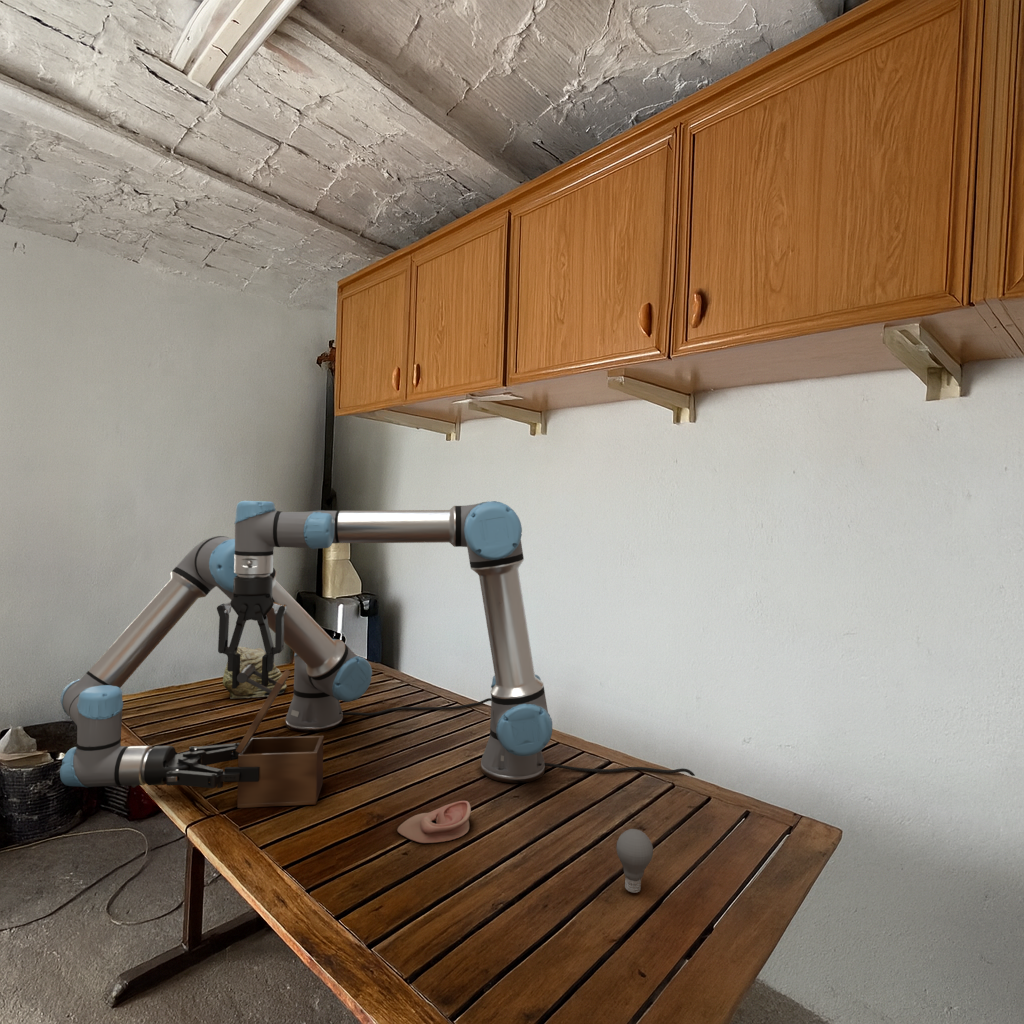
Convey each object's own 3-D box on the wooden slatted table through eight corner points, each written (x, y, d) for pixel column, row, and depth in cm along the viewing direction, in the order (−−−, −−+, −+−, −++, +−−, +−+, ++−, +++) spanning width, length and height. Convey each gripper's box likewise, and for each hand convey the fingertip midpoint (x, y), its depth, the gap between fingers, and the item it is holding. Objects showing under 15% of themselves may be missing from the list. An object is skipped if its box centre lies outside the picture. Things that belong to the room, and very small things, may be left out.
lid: (291, 671, 137) (255, 652, 136) (282, 684, 128) (243, 664, 127) (252, 736, 137) (216, 717, 135) (240, 753, 127) (201, 734, 126)
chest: (322, 783, 139) (323, 735, 139) (315, 804, 130) (316, 752, 130) (249, 786, 137) (250, 737, 137) (237, 808, 128) (238, 755, 127)
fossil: (218, 695, 195) (220, 647, 195) (278, 685, 208) (279, 640, 207) (228, 703, 189) (230, 653, 188) (289, 692, 201) (290, 645, 201)
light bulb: (610, 879, 108) (613, 822, 108) (644, 879, 109) (647, 822, 109) (619, 902, 102) (622, 840, 102) (655, 901, 103) (658, 840, 103)
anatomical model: (391, 817, 118) (413, 790, 130) (390, 838, 118) (412, 809, 130) (459, 827, 116) (476, 799, 127) (459, 849, 116) (475, 819, 127)
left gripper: (170, 761, 140) (275, 759, 144) (124, 810, 118) (250, 806, 122) (171, 727, 140) (277, 726, 143) (126, 770, 118) (251, 768, 122)
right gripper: (201, 576, 126) (198, 692, 127) (295, 578, 129) (292, 691, 129) (213, 572, 134) (210, 681, 134) (301, 573, 136) (298, 680, 137)
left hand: (264, 763), depth 133 cm, fingers closed on chest, 9 cm apart
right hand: (250, 686), depth 132 cm, fingers open, 5 cm apart
